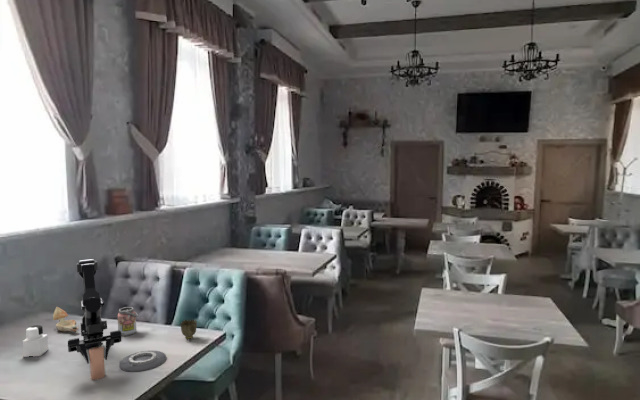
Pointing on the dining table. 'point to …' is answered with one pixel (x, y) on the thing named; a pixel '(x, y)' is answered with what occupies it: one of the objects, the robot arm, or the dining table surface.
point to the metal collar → (131, 360)
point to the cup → (188, 328)
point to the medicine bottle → (35, 342)
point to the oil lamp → (64, 325)
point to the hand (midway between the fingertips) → (97, 361)
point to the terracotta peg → (97, 362)
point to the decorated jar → (127, 321)
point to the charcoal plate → (134, 368)
